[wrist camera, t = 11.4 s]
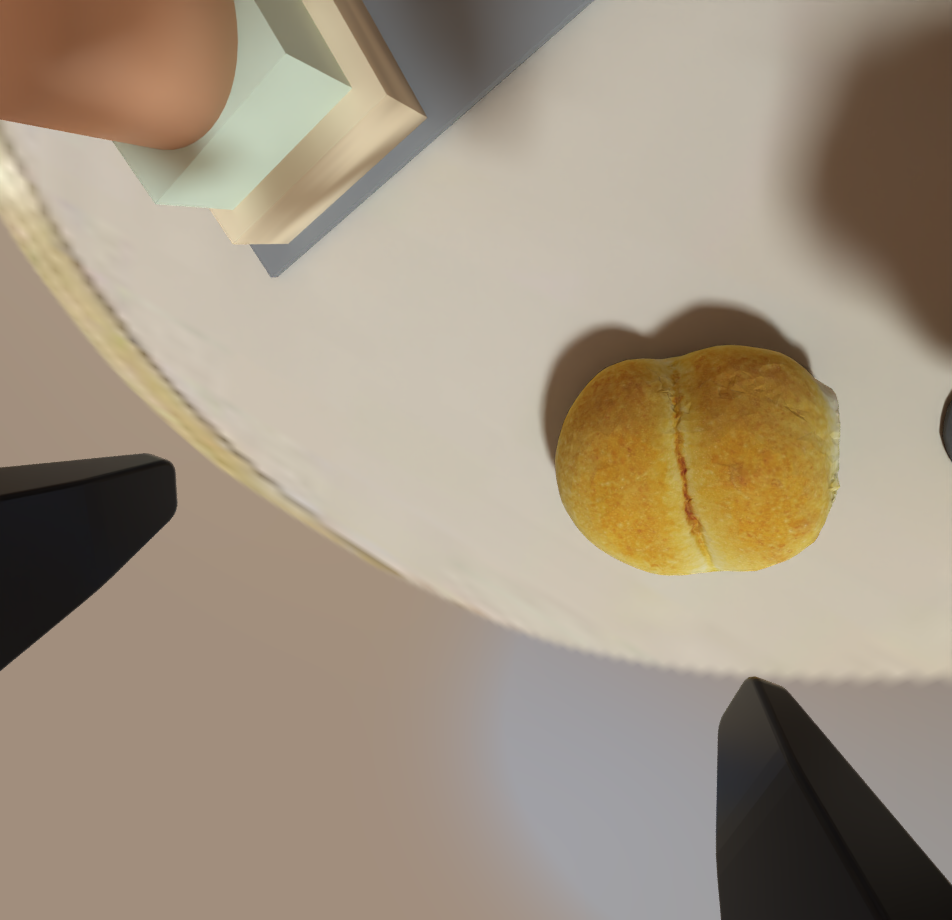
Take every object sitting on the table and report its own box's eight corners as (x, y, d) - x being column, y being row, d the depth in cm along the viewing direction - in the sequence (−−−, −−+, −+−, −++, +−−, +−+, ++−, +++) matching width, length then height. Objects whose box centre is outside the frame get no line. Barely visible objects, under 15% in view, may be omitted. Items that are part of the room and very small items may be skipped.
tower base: (302, -107, 15) (231, -179, 13) (427, 117, 17) (386, 94, 14) (173, 65, 18) (95, 36, 16) (287, 243, 20) (232, 244, 17)
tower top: (231, -120, 13) (128, -210, 11) (352, 88, 14) (286, 53, 12) (123, 42, 16) (17, 1, 13) (233, 209, 17) (155, 204, 14)
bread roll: (544, 369, 19) (521, 398, 16) (821, 322, 16) (870, 343, 13) (579, 558, 22) (566, 619, 18) (825, 549, 19) (866, 620, 15)
